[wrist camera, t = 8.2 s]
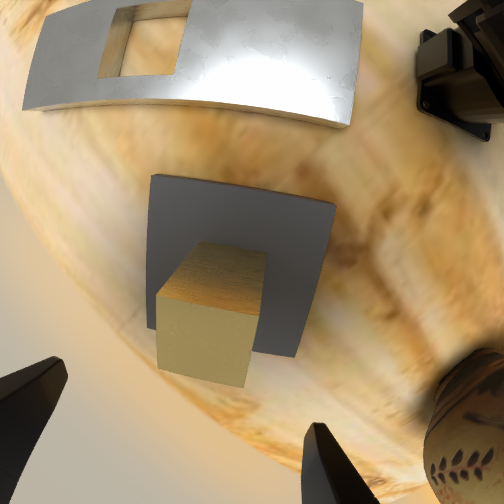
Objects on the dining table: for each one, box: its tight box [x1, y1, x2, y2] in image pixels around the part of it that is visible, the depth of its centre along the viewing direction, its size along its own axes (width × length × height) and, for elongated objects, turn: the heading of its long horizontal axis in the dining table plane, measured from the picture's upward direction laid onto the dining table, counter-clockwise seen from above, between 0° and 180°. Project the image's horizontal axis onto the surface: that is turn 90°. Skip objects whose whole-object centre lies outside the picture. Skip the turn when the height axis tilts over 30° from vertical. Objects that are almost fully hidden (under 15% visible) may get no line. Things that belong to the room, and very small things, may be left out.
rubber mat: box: [146, 174, 336, 358], centre depth 18 cm, size 11×11×1 cm
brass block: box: [156, 241, 266, 388], centre depth 14 cm, size 4×4×7 cm
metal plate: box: [22, 0, 363, 129], centre depth 13 cm, size 22×8×2 cm, turn 81°
